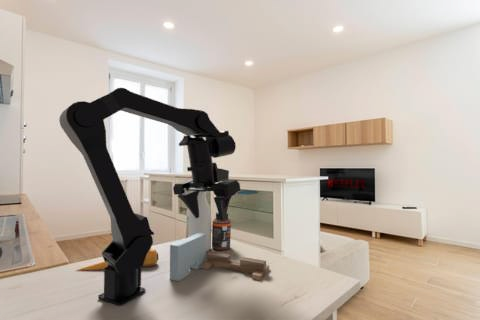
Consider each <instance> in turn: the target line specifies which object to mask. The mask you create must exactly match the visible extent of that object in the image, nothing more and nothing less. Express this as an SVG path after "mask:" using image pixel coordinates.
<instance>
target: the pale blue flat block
mask: <svg viewBox="0 0 480 320" xmlns="http://www.w3.org/2000/svg"><path fill="white" fill-rule="evenodd" d="M205 262H207V251H206V234H204V233H197V234H195V235H192V236H190V237H188V238H184V239H180V240H178V241H177V242H176V241H175V242H174V243H171V244H170V245H169V280H171V281H175V282H179V281H181V280H182V279H184V278H185V277H187V276H189V275H190V273H191V271H190V269H195V270H198V269H200V268H202V264H203V263H205Z"/></svg>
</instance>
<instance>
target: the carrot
mask: <svg viewBox="0 0 480 320" xmlns="http://www.w3.org/2000/svg"><path fill="white" fill-rule="evenodd" d="M158 261H159V252H158V251H157V250H156V248H155V249H153V248H151V249H150V250H149V252H148V253H147V255H146V258H145V261H144V264H143V266H142V267H141V268H144V267H146V268H147V267H154V266H155V265H157V262H158ZM108 265H109V264H108V263H107V262H105V261H104V260H103V261H100V262H98V263H94V264H91V265H88V266H85V267H81V268H78V269H76V270H75V272H76V271H77V270H78V271H100V270H101V271H102V269H103V270H104V268H106V267H107V266H108Z"/></svg>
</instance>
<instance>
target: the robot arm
mask: <svg viewBox="0 0 480 320" xmlns="http://www.w3.org/2000/svg"><path fill="white" fill-rule="evenodd" d="M120 111H121V112H124V113H128V114H132V115H134V116H139V117H142V118H145V119H149V120H152V121H155V122H158V123H159V122H160V123H163V124H167V125H168V126H171V127H172V128H173V129H175V130H176V131H178V132H180V133H182V134H184V136H183V138H182V139H181V141H180V142H179V143H178V146H179V147H182V146H184V147H185V146H186V148H187V153H188V159H189V165H190V166H187V172H191V178H192V179H186V180H183V181H179V182H177V183H176V182H175V184H174V185H173V188H172V189H173V195H175V196H176V195H177V198H178V199H180V200H181V201H182V202H183V203H184V204H185V206H186V207H187V209H188V208H189V210H190V211H191V213H192V214H193V215H194V217H195V218H198V217H199V207H198V199H197V197H198V194H199V191H206V192H213V194H214V195H215V197H213V201H214V202H215V207H216V209H217V212H218V213H219V216H220V218H221V220H222V221H225V219H226V214H227V213H228V210H229V203H230V201H231V199H232V197H233V196H235V195H236V194H237V193H239V192H240V191H241V184H240V182H239V181H238V180H237V179H229V175H230V173H229V172H230V171H229V170H228V169H225V168H224V169H223V168H218V164H217V163H216V162H213V158H214V159H216V158H221V157H225V156H231V155H233V154H234V153H235V150H236V148H237V147H236V146H237V145H236V142H235V140H234V138H233V137H232V135H230V133H229V130H224V131H220V130H219V129H218V128H217V127H216V126H215V124H214V123H213V122H212V120H211V119H210V117H209V114H208V112H206V111H204V110H201V109H193V108H181V107H180V108H179V107H176V106H173V105H170V104H167V103H164V102H161V101H158V100H155V99H152V98H150V97H147V96H145V95H141V94H138V93H135V92H133V91H130V90H129V89H127V88H124V87H117V88H115V89H114V90H112V91H111V92H109V93H108V94H105V95H103V96H101V97H98V98H97V99H95V100H92V101H91V102H87V101H85V100H84V101H83V100H82V101H76V102H73V103H72V104H71V105H69V106H68V107H66V109H64V110H63V111H62V112H61V114H60V115H59V125H60V128H61V129H62V130H63V132H64V133H65V135H66V136H67V137H68V139H69V140H70V142H71V143H72V144H73V145H74V147H75V148H76V149H77V150H78V151H79V152H80V153H81V155H82V156H83V159H84V161H85V163H86V166H87V168H88V170H89V172H90V174H91V177H92V179H93V181H94V183H95V186H96V188H97V191H98V193H99V195H100V197H101V199H102V202H103V204H104V206H105V209H106V210H107V213H108V215H109V217H110V232H111V235H112V236H111V237H112V241H111V242H110V243H109V244H108V245H107V247H106V248H104V249H103V251H102V252H101V256H102V258H103V262H104V261H105V262H107V263H108V264H109V265H108V266H107V267H106V268H104V269H103V271H104V272H103V274H104V275H103V292H102V293H100V294H99V295H98V299H99V300H102V301H105V302H108V303H110V304H115V305H118V306H122V305H125V304H126V303H128V302H130V301H131V300H133V299H135V298H136V297H138V296H139V295H142V293H145V292H146V288H145V287H142V268H143V267H142V266H143V264H144V261H145V258H146V255H147V253H148V252H149V250H150V249H152V246H153V244H154V239H153V236H154V235H155V232H154V231H152V229H151V227H150V222H149V219H148V217H147V216H145V215H141V214H139V213H135V212H134V210H133V208H132V206H131V203H130V201H129V198H128V195H127V194H126V193H127V192H126V191H125V189H124V187H123V183H122V181H121V179H120V176H119V175H118V172H117V169H116V167H115V165H114V162H113V159H112V157H111V155H110V153H109V150H108V146H107V129H106V126H105V121H104V120H105V119H107V118H109V117H111V116H113V115H114V114H116V113H118V112H120ZM204 138H205V139H204ZM201 187H203V188H201ZM152 235H153V236H152Z"/></svg>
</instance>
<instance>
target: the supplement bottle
mask: <svg viewBox="0 0 480 320" xmlns="http://www.w3.org/2000/svg"><path fill="white" fill-rule="evenodd" d="M231 225H232V221H231V219H229V212H227V214H226V219H225V221H222V220H221V218H220V216H219V213H218V211H217V212H215V218H214V219H213V220H212V224H211V248H212V249H213V250H216V251H225V250H226V251H227V250H228V249H229V250H230V248H231V230H232V229H231V228H232V226H231Z"/></svg>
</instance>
